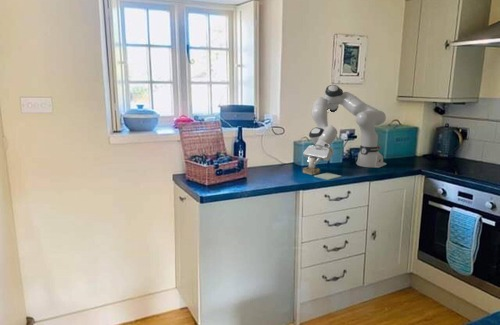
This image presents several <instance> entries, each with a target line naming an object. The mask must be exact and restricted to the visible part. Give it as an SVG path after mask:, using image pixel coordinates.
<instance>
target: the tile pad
mask: <svg viewBox="0 0 500 325" xmlns="http://www.w3.org/2000/svg"><path fill="white" fill-rule="evenodd" d="M313 177H314V178H317V179H318V178H319V179H322V180H326V181H330V180H333V179H335V180H336V179H338V178H341V177H342V175H340V174H339V175H338V174H335V173H331V172H325V173H318V174H314V175H313Z"/></svg>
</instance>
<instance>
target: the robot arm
mask: <svg viewBox="0 0 500 325" xmlns="http://www.w3.org/2000/svg"><path fill="white" fill-rule="evenodd" d="M324 92H325V93H324V96H318V97H319V98H318V97H317V98H318V99H317V100H316V101H315V102H314V101H313V103H314V104H313V103H312V106H313V107H311V115H312V119H313V120H314V123H315V124H316V126H317V127H313V128H312V129H311V130H310V131H309V134H308V137H309V138H310V140H311V141H312V143H313V144H314V145H308V146H307V147H306V148H305V149H304V151H303V152H302V155H303V156H304V158H307V161H306V163H307V164H309V157H314V158H315V161H314V162H313V164H315V166H316V165H317V164H318V163H320V162H321V161H322V162H323V161H325V162H329V161H331V159H332V157H333V154H334V153H335V150H334V149H333V147H332V144H333V142H334V141H335V139H336V138H337V136H338V130H337V128H336V127H334V126H333V125H330V124H329V125H328V123H329V122H328V112H327V110H328V109H330V111H331V112H333V113H336V112H337V110H338V109H339V105H341V106H342V107H343V108H344V109H346V110H347V111H348V112H349V113H351V114H352V115H353V116H355V123H356V124H357V125H358V127H359V129H360V133H361V134H360V135H361V138H360V146H359V152H358V154H357V161H356V162H355V164H356V165H357V166H359V167H364V168H376V169H377V168H381V167H384V166H386V165H387V163H386V162H384V156H383V155H382V154H381V153H380V152H379V150H380V149H381V145H378V144H379V143H378V139H379V134H378V133H377V132H376V129H375V128H376V127H378V126H380V125H382V124H384V123H385V122H386V119H387V118H386V117H387V116H386V113H385V112H384V111H382V110H379V109H377V108H375V107H374V106H372V105H371V104H370V105H369V104H368V103H366V102H364V101H362V100H361V99H360V98H359V97H357V96H356V95H355V94H353V93H351V92H349V91H343V89H342V88H341V87H340V86H338V85H336V84H330V85H327V86H326V89H325V91H324ZM324 97H325V98H324ZM335 111H336V112H335ZM375 126H376V127H375Z"/></svg>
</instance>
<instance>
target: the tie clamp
mask: <svg viewBox="0 0 500 325" xmlns="http://www.w3.org/2000/svg"><path fill="white" fill-rule="evenodd" d="M320 172H321V169H320V168H318V167H315V169H313V170H311V169H309V166H307V167H302V173H303V174H307V175H311V176H312V175H313V176H314V175H319V174H321V173H320Z"/></svg>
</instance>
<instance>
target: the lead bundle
mask: <svg viewBox="0 0 500 325" xmlns="http://www.w3.org/2000/svg"><path fill="white" fill-rule="evenodd" d="M314 161H316V159H315V158H314V157H309V163H308V167H309V169H311V170H313V169H315V168H316V165H315V164H313V162H314Z"/></svg>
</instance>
